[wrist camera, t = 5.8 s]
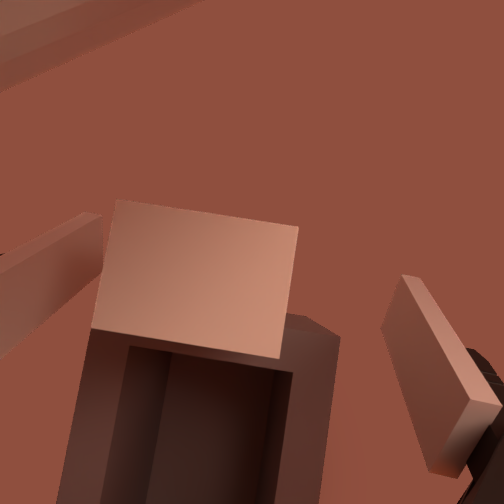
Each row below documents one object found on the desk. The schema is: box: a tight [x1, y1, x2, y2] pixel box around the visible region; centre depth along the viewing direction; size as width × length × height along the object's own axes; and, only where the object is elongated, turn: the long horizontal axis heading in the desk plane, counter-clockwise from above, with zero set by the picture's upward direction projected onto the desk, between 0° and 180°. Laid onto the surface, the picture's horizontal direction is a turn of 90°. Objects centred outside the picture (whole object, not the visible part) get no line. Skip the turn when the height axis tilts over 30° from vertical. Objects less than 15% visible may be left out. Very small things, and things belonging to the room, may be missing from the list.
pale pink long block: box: [91, 199, 299, 359], centre depth 19 cm, size 5×19×4 cm, turn 179°
